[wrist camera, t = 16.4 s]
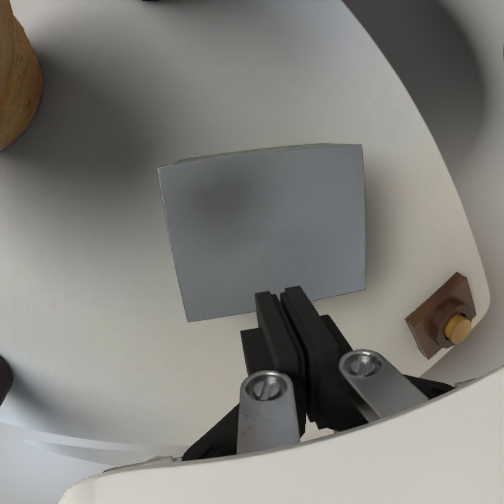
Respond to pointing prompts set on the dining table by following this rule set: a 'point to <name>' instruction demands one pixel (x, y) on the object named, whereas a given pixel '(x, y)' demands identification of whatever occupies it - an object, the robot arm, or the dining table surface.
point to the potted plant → (16, 78)
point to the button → (457, 328)
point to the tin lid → (265, 226)
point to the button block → (441, 315)
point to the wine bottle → (5, 379)
